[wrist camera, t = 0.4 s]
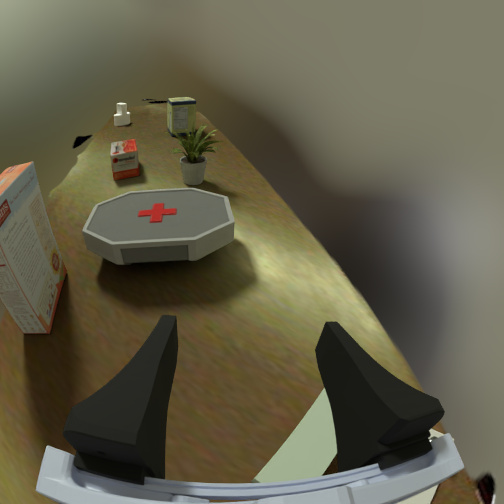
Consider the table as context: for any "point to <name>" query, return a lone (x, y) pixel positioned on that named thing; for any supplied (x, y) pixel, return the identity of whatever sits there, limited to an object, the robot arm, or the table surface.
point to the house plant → (193, 155)
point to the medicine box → (124, 159)
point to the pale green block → (304, 447)
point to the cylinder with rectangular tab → (122, 115)
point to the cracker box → (27, 252)
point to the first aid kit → (159, 226)
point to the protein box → (181, 115)
